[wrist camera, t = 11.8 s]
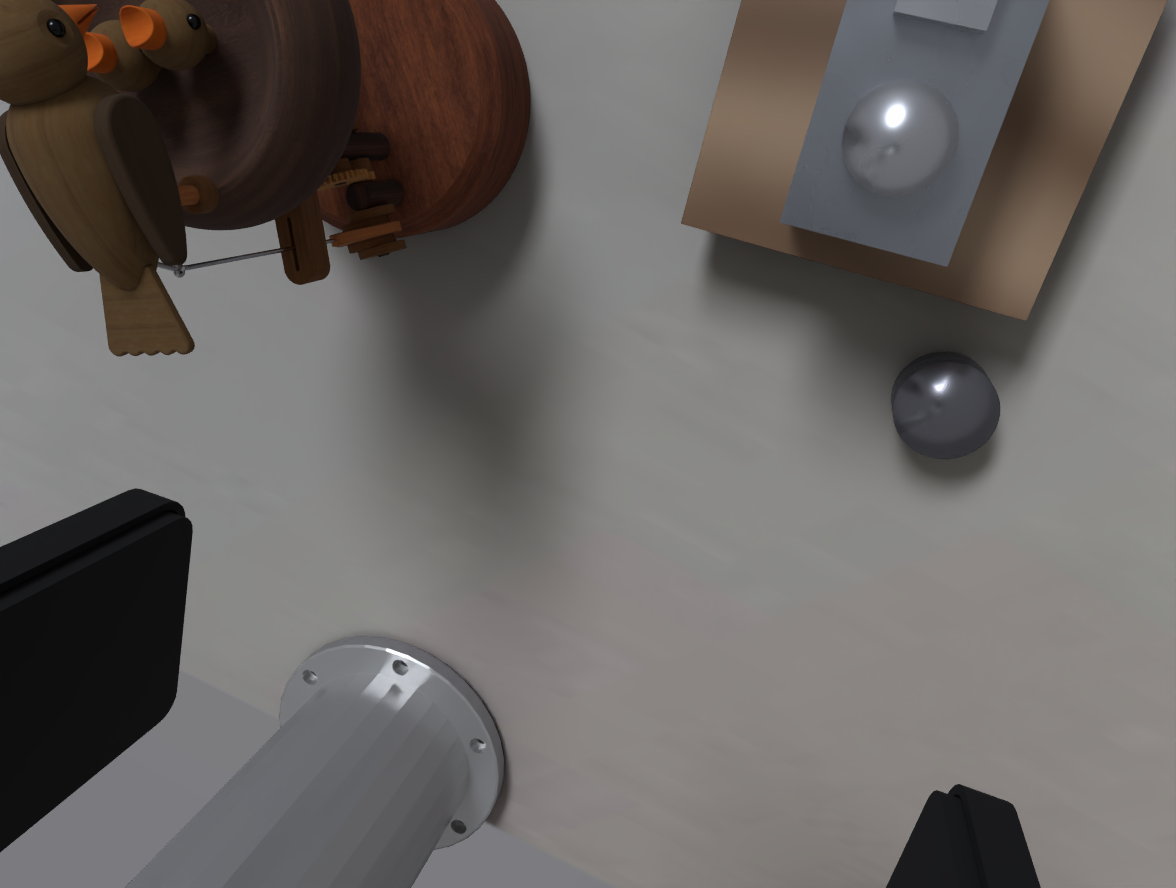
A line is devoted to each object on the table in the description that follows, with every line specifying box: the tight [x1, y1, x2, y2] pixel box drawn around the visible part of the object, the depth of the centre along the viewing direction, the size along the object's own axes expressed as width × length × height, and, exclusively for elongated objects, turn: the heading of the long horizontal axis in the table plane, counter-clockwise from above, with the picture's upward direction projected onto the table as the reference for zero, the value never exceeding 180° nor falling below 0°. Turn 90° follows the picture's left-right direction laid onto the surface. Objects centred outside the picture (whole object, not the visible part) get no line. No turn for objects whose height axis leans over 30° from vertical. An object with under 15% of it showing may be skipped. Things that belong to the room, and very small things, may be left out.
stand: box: [681, 0, 1168, 321], centre depth 29 cm, size 12×12×3 cm
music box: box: [0, 0, 530, 356], centre depth 27 cm, size 15×11×20 cm
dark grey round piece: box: [891, 352, 1000, 459], centre depth 33 cm, size 4×4×2 cm
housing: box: [780, 0, 1050, 267], centre depth 25 cm, size 5×9×5 cm, turn 167°
